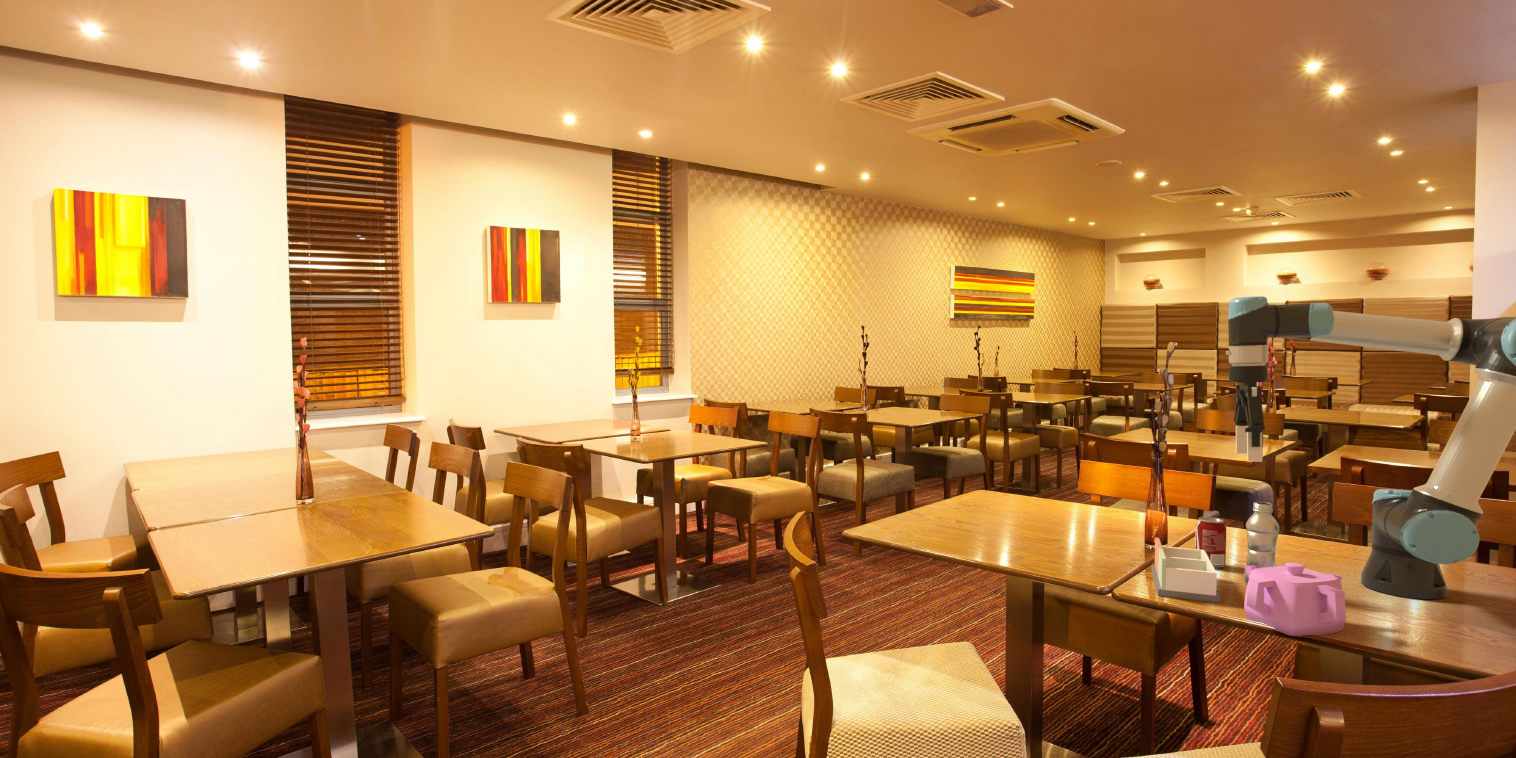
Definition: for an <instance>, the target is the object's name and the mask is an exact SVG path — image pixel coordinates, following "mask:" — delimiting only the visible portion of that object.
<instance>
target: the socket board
mask: <svg viewBox="0 0 1516 758" xmlns="http://www.w3.org/2000/svg"><path fill="white" fill-rule="evenodd" d="M1154 545H1155V546H1154V564H1151V569H1150V570H1151V574H1152V578H1153V581H1154V586H1155V590H1156V595H1157V597H1158V596H1159V597H1164V598H1174V599H1183V600H1190V601H1191V600H1192V601H1201V602H1210V603H1218V604H1220V602H1221V600H1220V598H1221V596H1220V594H1219V592H1218V589H1217V583H1218V582H1217V580H1218V579H1217V576H1218V575H1217V571H1216V569H1214V567H1213V565H1212V564H1211V562H1210V560H1209V558H1208V556H1207V554H1206V553H1205V551H1204V550H1198V549H1195V548H1185V547H1176V546H1175V547H1174V546H1163V545H1162V543H1161V540H1160V538H1159V537H1155V538H1154Z"/></svg>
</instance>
